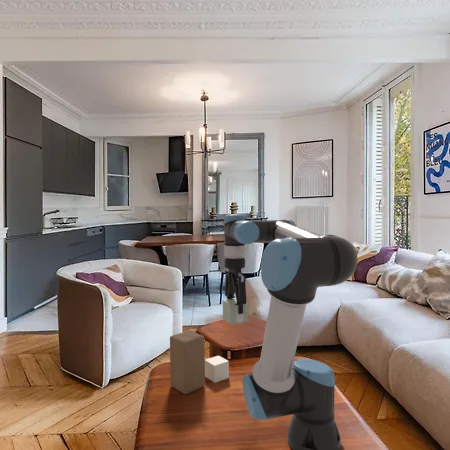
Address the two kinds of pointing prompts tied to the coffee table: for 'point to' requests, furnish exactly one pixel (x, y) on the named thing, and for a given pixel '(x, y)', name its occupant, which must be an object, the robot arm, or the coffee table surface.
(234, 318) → the sage cube
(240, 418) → the coffee table surface
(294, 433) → the robot arm
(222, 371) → the cream cube
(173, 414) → the coffee table surface
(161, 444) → the coffee table surface
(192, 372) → the wooden block
